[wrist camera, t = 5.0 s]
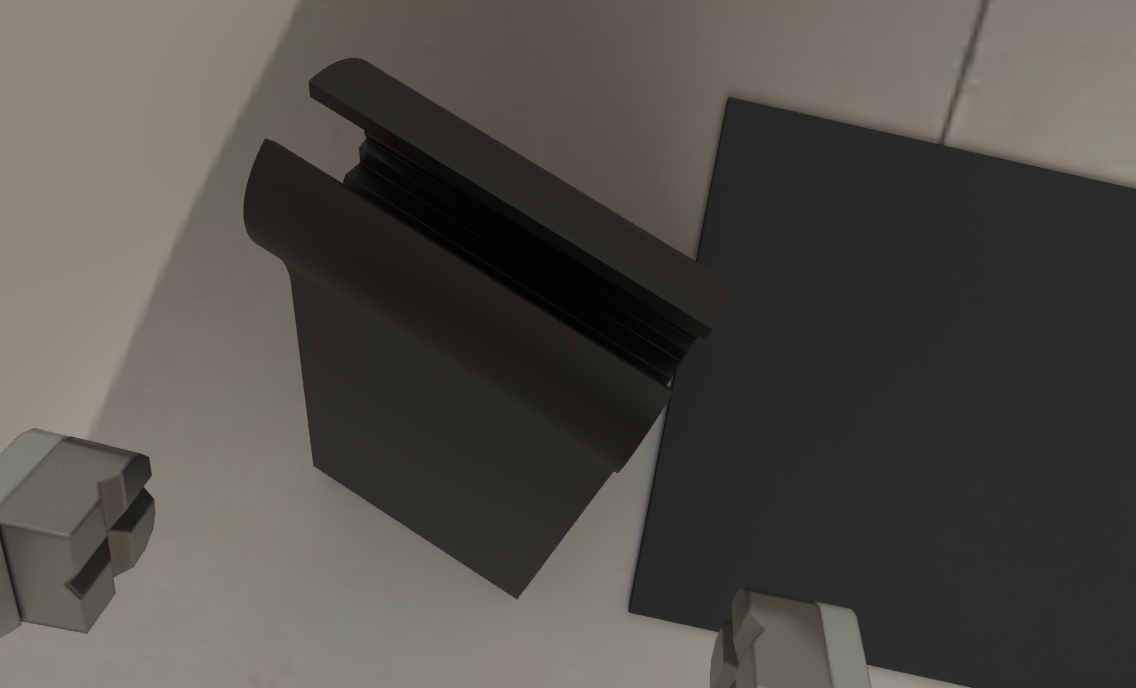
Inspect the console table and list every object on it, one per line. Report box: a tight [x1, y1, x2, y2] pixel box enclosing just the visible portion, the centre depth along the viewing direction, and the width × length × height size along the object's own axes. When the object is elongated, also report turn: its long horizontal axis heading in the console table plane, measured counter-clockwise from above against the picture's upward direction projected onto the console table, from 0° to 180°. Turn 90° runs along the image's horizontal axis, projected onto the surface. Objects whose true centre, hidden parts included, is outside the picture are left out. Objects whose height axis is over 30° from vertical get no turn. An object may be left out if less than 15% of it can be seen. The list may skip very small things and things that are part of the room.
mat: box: [628, 97, 1136, 688], centre depth 23 cm, size 14×14×1 cm
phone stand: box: [244, 58, 735, 599], centre depth 17 cm, size 9×6×12 cm, turn 147°
